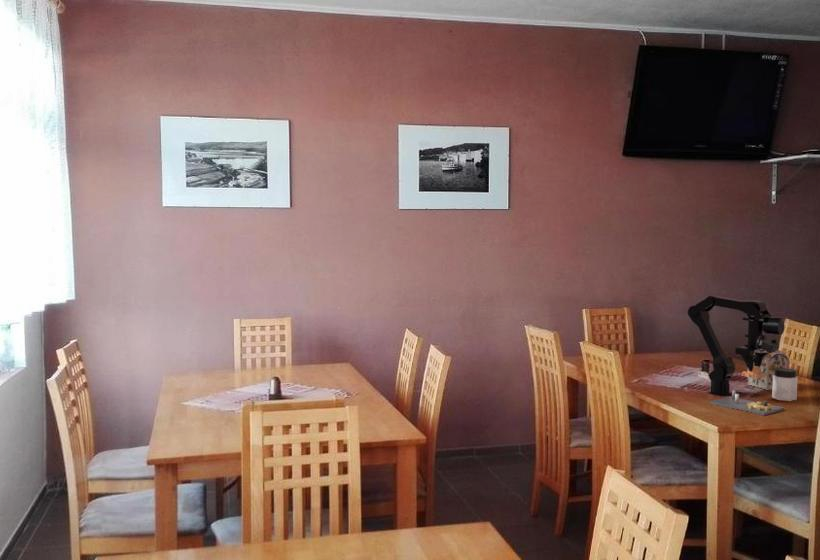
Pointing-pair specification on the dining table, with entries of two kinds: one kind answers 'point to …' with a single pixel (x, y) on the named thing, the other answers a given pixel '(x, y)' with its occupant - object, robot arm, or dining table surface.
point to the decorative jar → (769, 369)
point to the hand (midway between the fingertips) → (753, 370)
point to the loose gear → (754, 373)
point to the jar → (784, 384)
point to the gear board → (747, 405)
